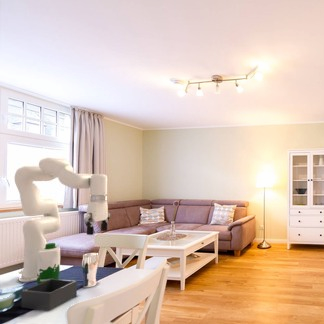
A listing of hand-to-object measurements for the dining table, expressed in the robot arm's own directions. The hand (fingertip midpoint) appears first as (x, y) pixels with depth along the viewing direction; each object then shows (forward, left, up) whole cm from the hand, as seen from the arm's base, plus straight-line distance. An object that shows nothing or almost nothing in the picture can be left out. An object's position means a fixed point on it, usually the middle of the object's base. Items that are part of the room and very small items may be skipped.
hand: (97, 232), depth 138 cm
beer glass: (-3, -1, -26) cm, 26 cm away
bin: (-6, -20, -26) cm, 33 cm away
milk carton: (-22, -6, -26) cm, 34 cm away
